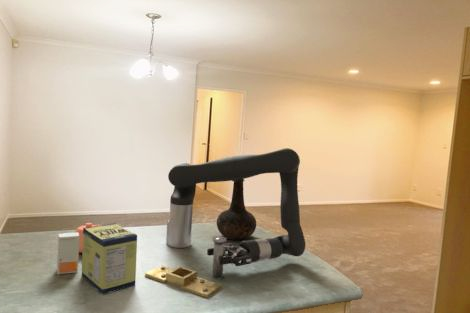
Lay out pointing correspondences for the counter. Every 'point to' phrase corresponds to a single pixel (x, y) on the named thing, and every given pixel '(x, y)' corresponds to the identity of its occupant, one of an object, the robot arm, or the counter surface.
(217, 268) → the hinge pin
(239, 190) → the glass bottle
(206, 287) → the hinge leaves
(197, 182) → the robot arm
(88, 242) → the protein box
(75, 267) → the skincare box
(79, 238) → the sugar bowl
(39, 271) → the counter surface
